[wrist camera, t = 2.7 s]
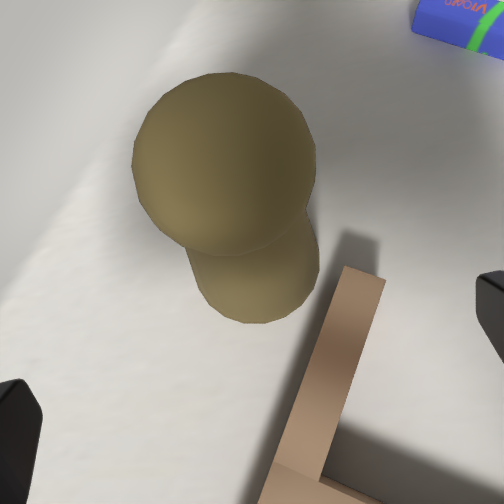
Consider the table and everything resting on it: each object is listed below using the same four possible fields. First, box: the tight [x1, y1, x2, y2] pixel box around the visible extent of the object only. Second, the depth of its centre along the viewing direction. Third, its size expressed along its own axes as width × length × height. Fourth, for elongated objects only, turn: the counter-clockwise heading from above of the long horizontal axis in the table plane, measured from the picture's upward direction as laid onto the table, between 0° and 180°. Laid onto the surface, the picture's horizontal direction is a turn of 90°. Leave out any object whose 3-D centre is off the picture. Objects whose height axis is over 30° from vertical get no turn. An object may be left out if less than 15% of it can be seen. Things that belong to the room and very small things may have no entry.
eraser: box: [412, 0, 504, 60], centre depth 24 cm, size 2×6×2 cm, turn 62°
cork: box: [131, 72, 319, 324], centre depth 17 cm, size 6×6×11 cm
